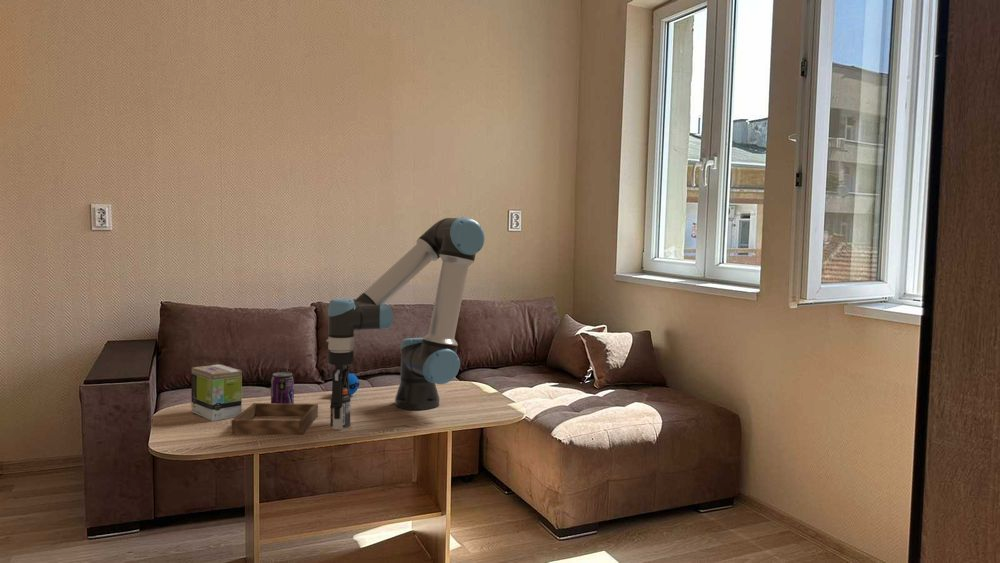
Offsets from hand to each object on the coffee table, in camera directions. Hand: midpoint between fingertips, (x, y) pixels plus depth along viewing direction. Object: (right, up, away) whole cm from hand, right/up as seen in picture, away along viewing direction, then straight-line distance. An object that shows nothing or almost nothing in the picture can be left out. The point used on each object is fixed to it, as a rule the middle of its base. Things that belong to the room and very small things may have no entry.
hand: (340, 424), depth 211 cm
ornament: (-6, +2, +38) cm, 38 cm away
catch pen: (-19, 0, -1) cm, 19 cm away
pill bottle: (0, 0, 0) cm, 1 cm away
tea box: (-41, +1, +9) cm, 42 cm away
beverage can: (-23, +1, +16) cm, 28 cm away
